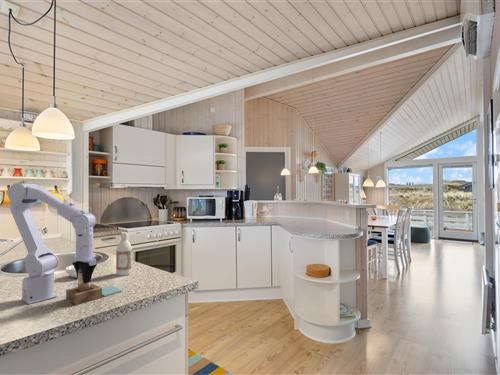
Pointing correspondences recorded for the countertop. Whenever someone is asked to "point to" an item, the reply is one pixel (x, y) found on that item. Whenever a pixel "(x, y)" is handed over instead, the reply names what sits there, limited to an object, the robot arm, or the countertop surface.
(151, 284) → the countertop surface
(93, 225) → the robot arm
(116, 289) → the teal mat
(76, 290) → the walnut block
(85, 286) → the maple plug
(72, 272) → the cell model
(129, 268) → the bath foam
